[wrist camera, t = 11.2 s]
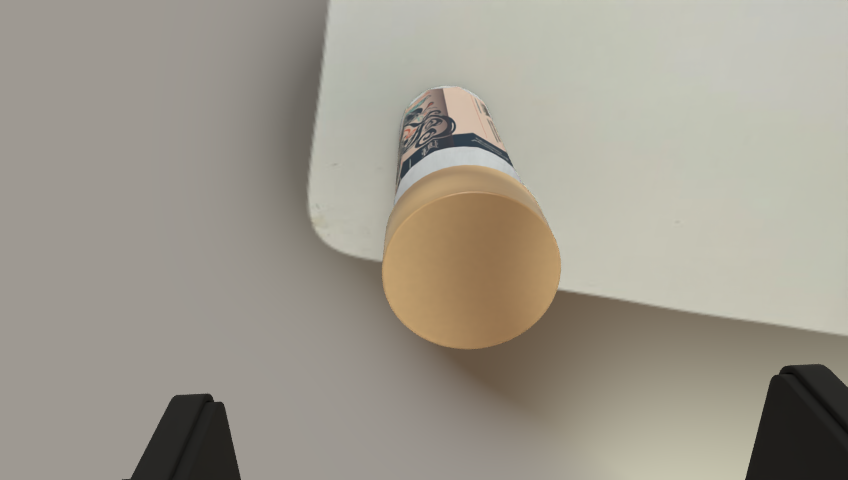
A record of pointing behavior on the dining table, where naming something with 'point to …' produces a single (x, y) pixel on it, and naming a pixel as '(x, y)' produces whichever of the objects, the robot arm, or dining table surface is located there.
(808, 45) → the dining table surface
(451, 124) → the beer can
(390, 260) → the lid
